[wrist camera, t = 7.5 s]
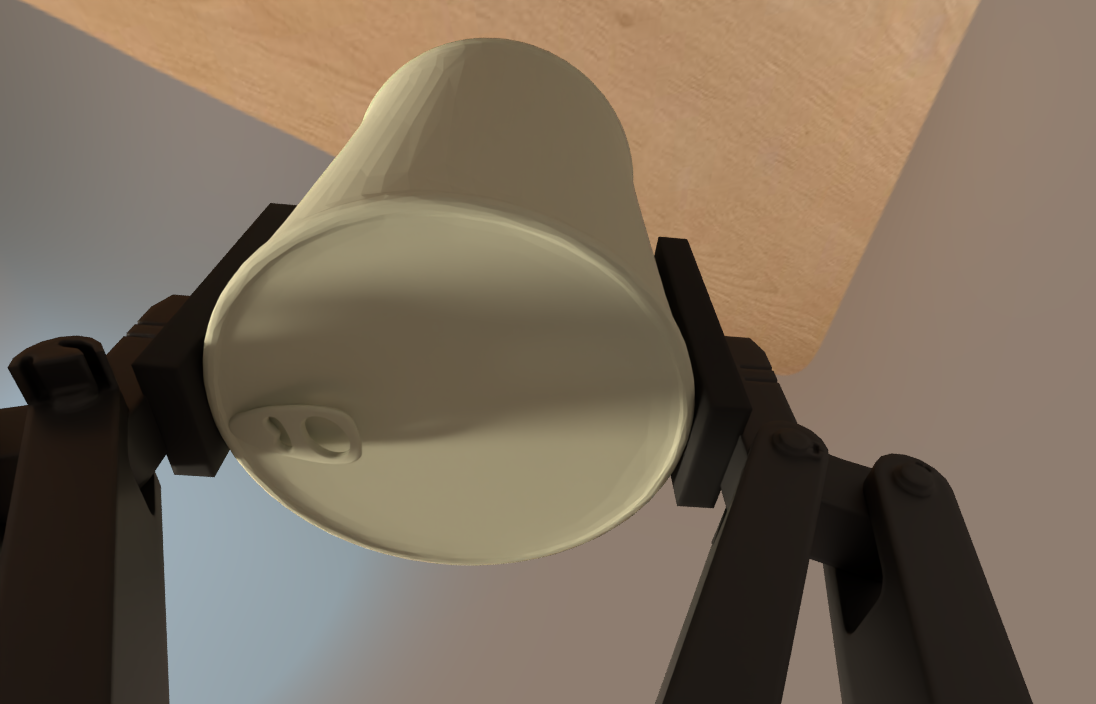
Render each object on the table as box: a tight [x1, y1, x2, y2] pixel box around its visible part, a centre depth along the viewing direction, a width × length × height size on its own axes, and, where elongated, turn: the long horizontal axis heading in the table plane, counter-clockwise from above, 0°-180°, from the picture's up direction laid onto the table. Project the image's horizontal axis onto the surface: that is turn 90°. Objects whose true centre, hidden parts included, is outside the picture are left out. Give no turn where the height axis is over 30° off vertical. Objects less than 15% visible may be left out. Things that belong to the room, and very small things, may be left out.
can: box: [203, 38, 695, 565], centre depth 16 cm, size 9×9×12 cm
